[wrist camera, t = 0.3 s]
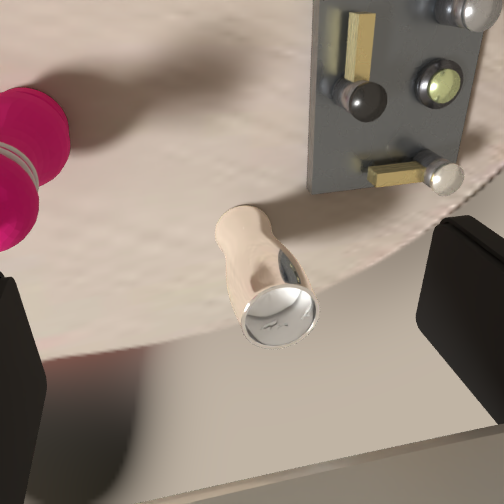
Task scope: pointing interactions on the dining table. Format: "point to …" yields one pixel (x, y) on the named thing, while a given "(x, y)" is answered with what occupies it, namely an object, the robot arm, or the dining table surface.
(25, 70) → the dining table surface
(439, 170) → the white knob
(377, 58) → the base plate
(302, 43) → the dining table surface
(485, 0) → the grey knob
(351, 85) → the tan lever handle
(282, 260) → the beer glass
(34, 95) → the pepper mill
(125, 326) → the dining table surface
